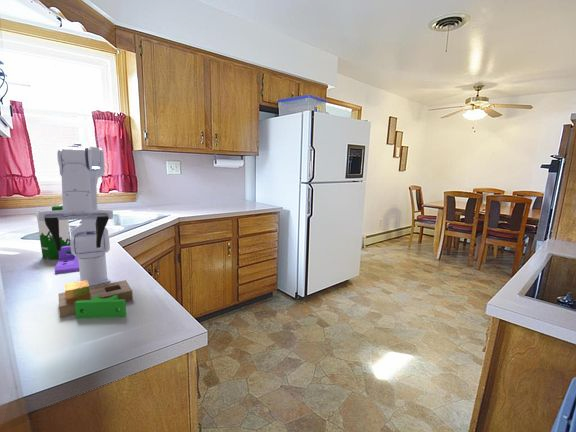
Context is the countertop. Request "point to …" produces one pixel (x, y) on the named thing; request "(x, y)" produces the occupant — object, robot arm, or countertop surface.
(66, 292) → the orange block
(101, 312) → the pipe clamp
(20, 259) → the countertop surface
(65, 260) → the bracket
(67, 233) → the milk carton
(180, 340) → the countertop surface
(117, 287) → the board
